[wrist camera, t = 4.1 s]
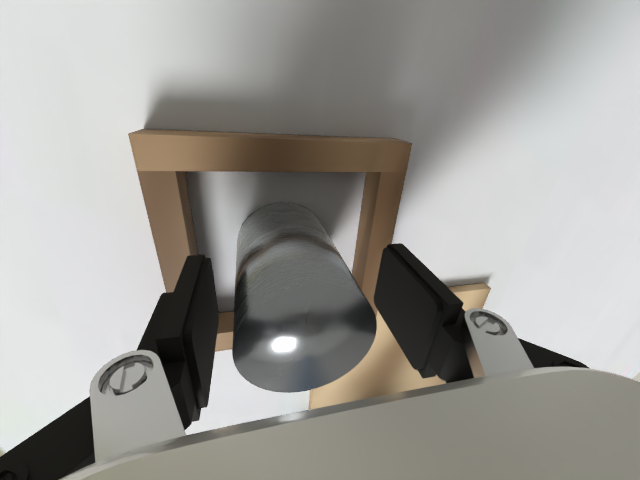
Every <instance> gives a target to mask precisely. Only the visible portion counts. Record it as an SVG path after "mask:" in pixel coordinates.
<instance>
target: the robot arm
mask: <svg viewBox="0 0 640 480" xmlns="http://www.w3.org/2000/svg"><path fill="white" fill-rule="evenodd" d="M374 304H375V306H376V308H377V310H378V311H379V313H380V315H381V316H382V318H383V320H384V321H385V323H386V325H387V326H388V328H389V330H390V331H391V333H392V334H393V336H394V338H395V339H396V341H397V343H398V344H399V346H400V348H401V349H402V351H403V353H404V354H405V356H406V358H407V359H408V361H409V363H410V364H411V366H412V367H413V369H415V370H418V372H419V373H420V375H421V377H422V378H423V379H424V378H429V377H435V376H436V374H437V376H438V377H439V378H440V385H435V386H429V387H424V388H419V389H414V390H409V391H403V392H398V393H393V394H388V395H383V396H378V397H372V398H367V399H362V400H357V401H352V402H347V403H342V404H337V405H331V406H326V407H321V408H316V409H311V410H306V411H301V412H296V413H291V414H286V415H281V416H276V417H271V418H266V419H261V420H256V421H251V422H246V423H241V424H237V425H232V426H227V427H223V428H218V429H214V430H209V431H204V432H200V433H195V434H191V435H186V433H185V430H186V429H187V428H188V427H189V426H190V425H191V422H192V421H198V420H199V418H200V411H201V408H204V407H207V405H208V399H209V392H210V384H211V377H212V369H213V361H214V354H215V346H216V339H217V331H218V324H219V314H218V306H217V299H216V292H215V284H214V277H213V270H212V263H211V259H210V258H205V255H189V256H187V258H186V260H185V263H184V266H183V268H182V271H181V273H180V276H179V279H178V281H177V284H176V286H175V289H174V292H168V293H163V294H162V295H161V296H160V299H159V301H158V303H157V305H156V308H155V310H154V312H153V314H152V317H151V319H150V321H149V323H148V326H147V328H146V330H145V333H144V335H143V337H142V339H141V342H140V344H139V346H138V348H137V351H131V352H128V353H125V354H122V355H120V356H118V357H116V358H114V359H112V360H111V361H110V362H108V363H107V364H105V365H104V366H103V367H102V368H101V369H100V370H99V371H98V372H97V373H96V374H95V376H94V378H93V380H92V381H91V385H90V397H88V398H87V399H85V400H84V401H82V402H81V403H79V404H78V405H76V406H75V407H73V408H72V409H70V410H69V411H68V412H66V413H65V414H63V415H62V416H60V417H59V418H57V419H56V420H54V421H53V422H51V423H50V424H48V425H47V426H45V427H44V428H42V429H41V430H39V431H38V432H36V433H35V434H34V435H32V436H31V437H29V438H28V439H26V440H25V441H23V442H22V443H20V444H19V445H17V446H16V447H14V448H13V449H11V450H10V451H8V452H7V453H5V454H4V455H3V456H1V457H0V480H640V382H638V381H635V380H633V379H630V378H627V377H624V376H621V375H617V374H614V373H610V372H605V371H600V370H595V369H590V368H589V367H587V366H586V365H584V364H583V363H581V362H579V361H576V360H573V359H571V358H569V357H566V356H563V355H561V354H558V353H556V352H553V351H550V350H548V349H545V348H543V347H540V346H537V345H535V344H532V343H529V342H527V341H524V340H522V339H519V338H517V336H516V334H515V332H514V331H513V329H512V327H511V326H510V324H509V323H508V322H507V321H506V320H505V319H503V318H502V317H501V316H499V315H497V314H496V313H493V312H491V311H488V310H485V309H480V308H472V309H469V310H467V311H465V310H464V309H463V308H462V306H463V304H464V303H463V302H462V301H461V300H460V299H459V298H458V297H457V296H456V295H455V294H454V293H453V292H452V291H451V290H450V289H449V288H448V287H447V286H446V285H445V284H444V283H443V282H441V281H440V280H439V279H438V278H437V277H436V276H435V275H434V274H433V273H432V272H431V271H430V270H429V269H428V268H427V267H426V266H425V265H424V264H423V263H422V262H421V261H420V260H419V259H418V258H417V257H415V256H414V255H413V254H412V253H411V252H410V251H409V250H408V249H407V248H406V247H405V246H404V245H403V244H388V245H387V247H386V248H384V249H383V251H382V257H381V262H380V267H379V272H378V278H377V283H376V288H375V293H374Z"/></svg>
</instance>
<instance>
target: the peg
mask: <svg viewBox="0 0 640 480" xmlns="http://www.w3.org/2000/svg"><path fill="white" fill-rule="evenodd" d="M376 330H377V320H376V316H375V313H374V311H373V308H372V307H371V305H370V303H369V302H368V300H367V298H366V297H365V295H364V293H363V292H362V290H361V288H360V287H359V285H358V283H357V282H356V280H355V279H354V277H353V275H352V274H351V272H350V270H349V269H348V267H347V265H346V264H345V262H344V260H343V259H342V257H341V255H340V254H339V252H338V250H337V249H336V247H335V246H334V244H333V242H332V241H331V239H330V237H329V236H328V234H327V232H326V231H325V229H324V227H323V226H322V224H321V222H320V221H319V219H318V218H317V217H316V216H315V214H313V213H312V212H311V211H310V210H308V209H307V208H305V207H303V206H301V205H298V204H294V203H287V202H281V203H273V204H269V205H266V206H264V207H262V208H260V209H258V210H256V211H255V212H253V213H252V214H251V215H250V216H249V217H248V218H247V219H246V220H245V222H244V223H243V225H242V227H241V229H240V231H239V234H238V240H237V258H236V280H235V303H234V325H233V347H232V351H233V360H234V363H235V366H236V368H237V370H238V371H239V373H240V374H241V375H242V376H243V377H244V378H245V379H246V380H247V381H249V382H250V383H252V384H254V385H255V386H257V387H260V388H263V389H265V390H270V391H275V392H301V391H307V390H311V389H315V388H318V387H321V386H324V385H326V384H329V383H331V382H333V381H335V380H337V379H339V378H341V377H342V376H344V375H345V374H347V373H348V372H349V371H351V370H352V369H353V368H354V367H356V366H357V365H358V364H359V363H360V362H361V361H362V359H363V358H364V357H365V356H366V354H367V353H368V351H369V350H370V348H371V346H372V344H373V342H374V339H375V336H376Z"/></svg>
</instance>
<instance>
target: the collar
mask: <svg viewBox="0 0 640 480" xmlns="http://www.w3.org/2000/svg"><path fill="white" fill-rule="evenodd" d="M128 135H129V139H130V143H131V147H132V152H133V156H134V160H135V164H136V168H137V172H138V177H139V181H140V185H141V189H142V193H143V197H144V202H145V206H146V210H147V214H148V218H149V222H150V227H151V231H152V235H153V239H154V243H155V247H156V251H157V256H158V260H159V264H160V268H161V272H162V276H163V281H164V285H165V289H166V293H168V292H174V289H175V286H176V284H177V281H178V279H179V276H180V273H181V271H182V268H183V266H184V263H185V260H186V258H187V256H189V255H198V250H197V244H196V238H195V232H194V225H193V219H192V213H191V207H190V201H189V194H188V188H187V182H186V176H185V171H247V172H366V177H365V185H364V192H363V199H362V206H361V213H360V221H359V228H358V235H357V242H356V249H355V257H354V264H353V271H352V275H353V277H354V279H355V280H356V282H357V283H358V285H359V287H360V288H361V290H362V292H363V293H364V295H365V297H366V298H367V300H368V302H369V303H370V305H371V307H372V308H373V311H374V313H375V316H377V312H378V310H377V308H376V306H375V304H374V293H375V288H376V283H377V278H378V272H379V267H380V262H381V257H382V251H383V249H384V248H386V247H387V245H388V244H391V243H392V238H393V234H394V229H395V224H396V219H397V214H398V209H399V204H400V199H401V195H402V190H403V185H404V180H405V175H406V170H407V165H408V160H409V156H410V151H411V146H412V143H408V142H405V141H401V140H398V139H388V138H363V137H337V136H311V135H285V134H259V133H233V132H207V131H181V130H155V129H141V130H138V131H135V132H132V133H129V134H128ZM218 314H219V324H218V331H217V339H216V346H215V352H216V351H223V350H229V349H232V347H233V325H234V311H233V312H224V313H218Z"/></svg>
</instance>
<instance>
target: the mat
mask: <svg viewBox="0 0 640 480" xmlns="http://www.w3.org/2000/svg"><path fill="white" fill-rule="evenodd" d="M448 288H449V289H450V290H451V291H452V292H453V293H454V294H455V295H456V296H457V297H458V298H459V299H460V300H461V301H462V302H463V303H464V304H463V306H462V308H463V309H464V310H465V311H467V310H469V309H472V308H480V309H482V308H483V306H484V303H485V301H486V299H487V296H488V294H489V292H490V289H491V288H490V287H489V286H487V285H486V284H485V283H480V284H471V285H462V286H453V287H448ZM376 320H377V330H376V336H375V339H374V342H373V344H372V346H371V348H370V350H369V351H368V353H367V354H366V356H365V357H364V358H363V359H362V361H361V362H360V363H359V364H358V365H357V366H356V367H354V368H353V369H352V370H351V371H349V372H348V373H347V374H345V375H344V376H342V377H341V378H339V379H337V380H335V381H333V382H331V383H329V384H326V385H324V386H321V387H318V388H315V389H311V390H310V401H309V410H311V409H316V408H321V407H326V406H331V405H337V404H342V403H347V402H352V401H357V400H362V399H367V398H372V397H378V396H383V395H388V394H393V393H398V392H403V391H409V390H414V389H419V388H424V387H429V386H435V385H440V378H439V377H438V376H437V374H436V376H435V377H429V378H424V379H423V378H422V377H421V375H420V373H419V372H418V370H415V369H413V367H412V366H411V364H410V363H409V361H408V359H407V358H406V356H405V354H404V353H403V351H402V349H401V348H400V346H399V344H398V343H397V341H396V339H395V338H394V336H393V334H392V333H391V331H390V330H389V328H388V326H387V325H386V323H385V321H384V320H383V318H382V316H381V315H380V313H379V311H378V312H377V316H376Z"/></svg>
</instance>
